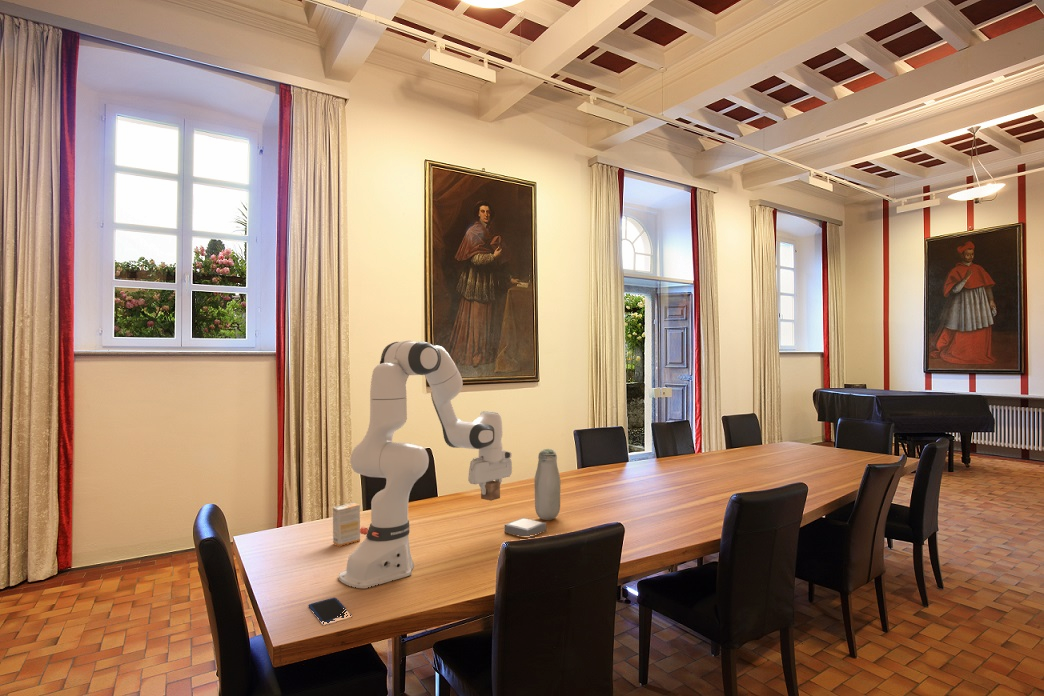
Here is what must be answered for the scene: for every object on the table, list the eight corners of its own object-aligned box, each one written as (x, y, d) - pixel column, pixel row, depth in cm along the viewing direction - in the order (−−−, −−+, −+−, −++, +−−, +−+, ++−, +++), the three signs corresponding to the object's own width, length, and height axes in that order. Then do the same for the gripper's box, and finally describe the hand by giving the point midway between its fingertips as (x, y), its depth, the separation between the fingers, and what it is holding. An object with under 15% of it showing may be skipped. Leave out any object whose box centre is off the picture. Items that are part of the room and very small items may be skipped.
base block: (527, 538, 192) (527, 529, 192) (504, 532, 199) (504, 524, 199) (546, 531, 200) (546, 522, 200) (523, 525, 207) (523, 517, 207)
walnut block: (490, 500, 195) (490, 484, 195) (480, 498, 198) (480, 482, 198) (500, 498, 199) (500, 481, 199) (490, 496, 202) (490, 480, 202)
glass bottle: (547, 524, 208) (547, 452, 209) (530, 518, 216) (529, 449, 217) (565, 519, 215) (564, 449, 215) (547, 513, 222) (547, 446, 223)
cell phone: (323, 627, 130) (323, 624, 130) (307, 607, 141) (307, 604, 141) (353, 618, 135) (353, 615, 135) (335, 599, 146) (335, 596, 146)
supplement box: (354, 538, 195) (353, 502, 195) (360, 541, 191) (360, 504, 191) (332, 544, 189) (332, 506, 189) (338, 547, 185) (338, 509, 186)
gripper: (476, 459, 189) (476, 499, 188) (514, 452, 205) (514, 489, 204) (464, 457, 193) (464, 496, 192) (502, 451, 209) (502, 486, 208)
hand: (490, 492), depth 198 cm, fingers closed on walnut block, 5 cm apart
